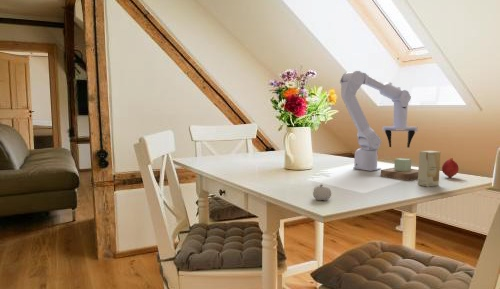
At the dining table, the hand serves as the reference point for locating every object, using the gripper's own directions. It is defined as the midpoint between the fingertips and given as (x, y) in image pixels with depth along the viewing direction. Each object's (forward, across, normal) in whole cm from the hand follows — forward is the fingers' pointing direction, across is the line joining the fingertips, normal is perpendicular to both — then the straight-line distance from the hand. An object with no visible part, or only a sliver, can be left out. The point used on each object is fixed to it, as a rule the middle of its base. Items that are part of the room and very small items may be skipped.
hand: (399, 147), depth 178 cm
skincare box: (+10, +7, -38) cm, 39 cm away
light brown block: (+9, 0, -22) cm, 24 cm away
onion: (+10, +17, -20) cm, 28 cm away
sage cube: (+7, 0, -22) cm, 23 cm away
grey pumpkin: (+10, -28, -69) cm, 75 cm away
